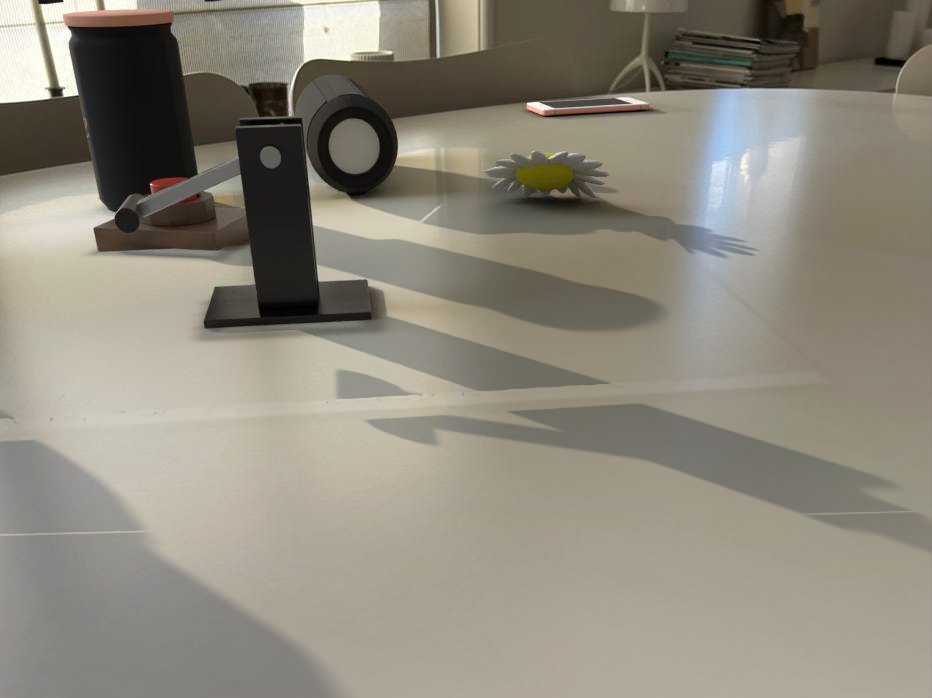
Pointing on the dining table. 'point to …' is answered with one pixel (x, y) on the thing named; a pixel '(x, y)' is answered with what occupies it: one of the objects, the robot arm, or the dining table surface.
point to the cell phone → (587, 106)
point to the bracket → (281, 238)
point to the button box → (179, 228)
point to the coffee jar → (131, 99)
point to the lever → (172, 195)
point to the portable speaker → (346, 134)
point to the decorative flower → (547, 173)
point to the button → (167, 182)
